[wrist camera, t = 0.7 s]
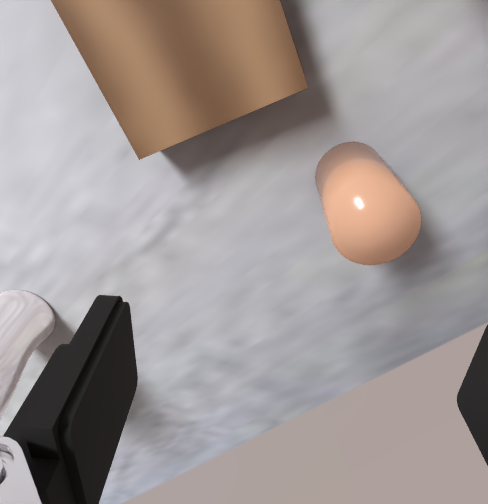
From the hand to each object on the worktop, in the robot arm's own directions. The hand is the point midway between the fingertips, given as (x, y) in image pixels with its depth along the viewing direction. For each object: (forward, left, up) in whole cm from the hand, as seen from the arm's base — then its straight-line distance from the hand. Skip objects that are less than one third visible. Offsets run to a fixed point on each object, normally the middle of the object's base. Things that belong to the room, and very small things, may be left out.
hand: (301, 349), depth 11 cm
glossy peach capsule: (-4, +5, -23) cm, 24 cm away
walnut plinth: (+3, -9, -23) cm, 25 cm away
